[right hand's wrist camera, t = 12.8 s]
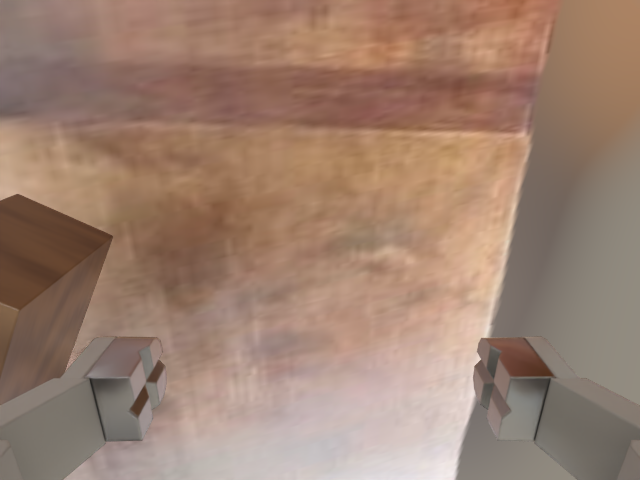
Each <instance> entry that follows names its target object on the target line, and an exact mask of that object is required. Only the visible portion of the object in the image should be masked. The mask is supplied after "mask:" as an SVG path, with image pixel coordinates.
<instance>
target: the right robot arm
mask: <svg viewBox="0 0 640 480" xmlns="http://www.w3.org/2000/svg"><path fill="white" fill-rule="evenodd" d="M162 352H163V350H162V345H161V341H160V340H159V339H158V338H157V337H97V338H94V339H93V341H92V342H91V343H90V344H89V345H88V346H87V347H86V349H85V350H84V351H83V352H82V353H81V354H80V356H79V357H78V358H77V359H76V360H75V361H74V362H73V364H72V365H71V366H70V367H69V368H68V369H67V371H66V372H65V373H64V374H63V375H62V376H61V378H53V379H51V380H49V381H47V382H45V383H43V384H41V385H39V386H37V387H35V388H33V389H31V390H30V391H28V392H26V393H24V394H22V395H20V396H18V397H16V398H14V399H12V400H10V401H8V402H6V403H4V404H2V405H0V480H63V479H64V478H65V477H67V476H68V475H69V474H70V473H71V472H73V471H74V470H75V469H76V468H77V467H78V466H80V465H81V464H82V463H83V462H84V461H85V460H87V459H88V458H89V457H90V456H91V455H93V454H94V453H95V452H96V451H97V450H98V449H100V448H101V447H102V446H103V445H104V444H105V441H139V440H143V438H144V436H145V434H146V432H147V430H148V428H149V426H150V424H151V422H152V420H153V415H152V410H153V409H154V408H156V407H157V406H158V405H160V403H161V401H162V399H163V397H164V393H165V389H166V384H167V374H166V367H165V365H164V364H163V363H162V362H161V361H160V360H159V358H160V356H161V354H162ZM477 352H478V354H479V356H480V358H481V360H480V361H479V362H478V363H477V364H476V365H475V367H474V375H473V381H474V390H475V393H476V397H477V399H478V401H479V403H480V405H482V406H483V407H484V408H486V409H487V410H488V415H487V420H488V422H489V424H490V426H491V428H492V430H493V432H494V434H495V436H496V438H497V440H500V441H535V442H534V443H535V444H536V445H537V446H538V447H539V448H541V449H542V450H543V451H544V452H545V453H547V454H548V455H549V456H550V457H551V458H552V459H553V460H555V461H556V462H557V463H558V464H559V465H561V466H562V467H563V468H564V469H565V470H566V471H568V472H569V473H570V474H571V475H572V476H573V477H575V478H576V479H577V480H640V405H638V404H636V403H634V402H632V401H630V400H628V399H626V398H624V397H622V396H620V395H618V394H616V393H614V392H612V391H610V390H608V389H606V388H605V387H603V386H601V385H599V384H597V383H595V382H593V381H591V380H589V379H587V378H579V376H578V375H577V374H576V373H575V372H574V371H573V369H572V368H571V367H570V366H569V365H568V364H567V363H566V361H565V360H564V359H563V358H562V357H561V356H560V354H559V353H558V352H557V351H556V350H555V349H554V348H553V346H552V345H551V344H550V343H549V342H548V341H547V339H545V338H543V337H541V336H537V337H518V338H481V340H480V342H479V344H478V349H477Z"/></svg>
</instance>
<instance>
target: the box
mask: <svg viewBox="0 0 640 480" xmlns="http://www.w3.org/2000/svg"><path fill="white" fill-rule="evenodd" d="M112 239H113V236H112V235H110V234H108V233H105V232H103V231H101V230H99V229H96V228H94V227H92V226H90V225H87V224H85V223H83V222H81V221H78V220H76V219H74V218H71V217H69V216H67V215H65V214H62V213H60V212H58V211H56V210H53V209H51V208H49V207H47V206H44V205H42V204H40V203H38V202H35V201H33V200H31V199H28V198H26V197H24V196H22V195H19V194H16V195H13V196H11V197H8V198H6V199H3V200H1V201H0V405H2V404H4V403H6V402H8V401H10V400H12V399H14V398H16V397H18V396H20V395H22V394H24V393H26V392H28V391H30V390H31V389H33V388H35V387H37V386H39V385H41V384H43V383H45V382H47V381H49V380H51V379H53V378H61V376H62V375H63V374H64V372H65V369H66V367H67V364H68V361H69V358H70V355H71V353H72V350H73V347H74V344H75V341H76V339H77V336H78V333H79V330H80V328H81V325H82V322H83V319H84V316H85V314H86V311H87V308H88V305H89V303H90V300H91V297H92V294H93V291H94V289H95V286H96V283H97V280H98V277H99V275H100V272H101V269H102V266H103V264H104V261H105V258H106V255H107V252H108V250H109V247H110V244H111V241H112Z"/></svg>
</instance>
